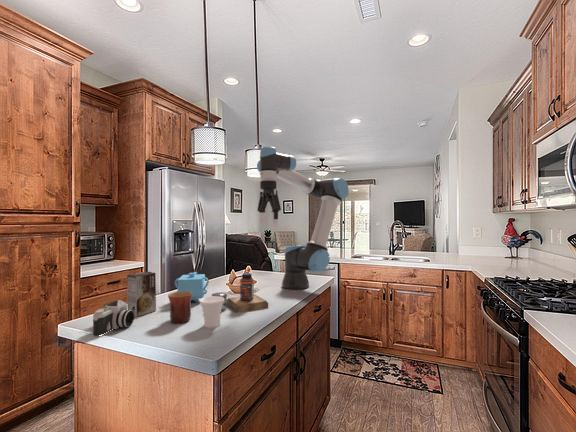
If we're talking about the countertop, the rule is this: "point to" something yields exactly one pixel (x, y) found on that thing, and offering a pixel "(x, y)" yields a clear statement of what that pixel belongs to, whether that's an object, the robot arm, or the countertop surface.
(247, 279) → the supplement bottle
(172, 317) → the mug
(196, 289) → the teapot
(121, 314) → the camera
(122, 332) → the countertop surface
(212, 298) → the cup
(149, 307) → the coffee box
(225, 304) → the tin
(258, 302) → the stand
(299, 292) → the countertop surface
